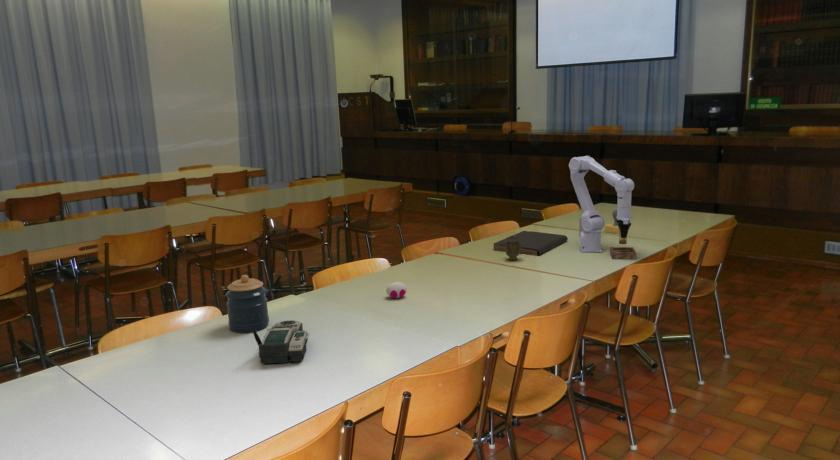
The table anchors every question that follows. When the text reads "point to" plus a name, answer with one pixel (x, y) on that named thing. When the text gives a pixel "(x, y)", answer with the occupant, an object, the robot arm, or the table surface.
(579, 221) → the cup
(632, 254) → the box
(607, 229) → the rubber stamp
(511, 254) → the cup
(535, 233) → the file folder
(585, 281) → the table surface
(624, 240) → the peg
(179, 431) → the table surface
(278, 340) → the communication device
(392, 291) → the stress ball
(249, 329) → the canister
